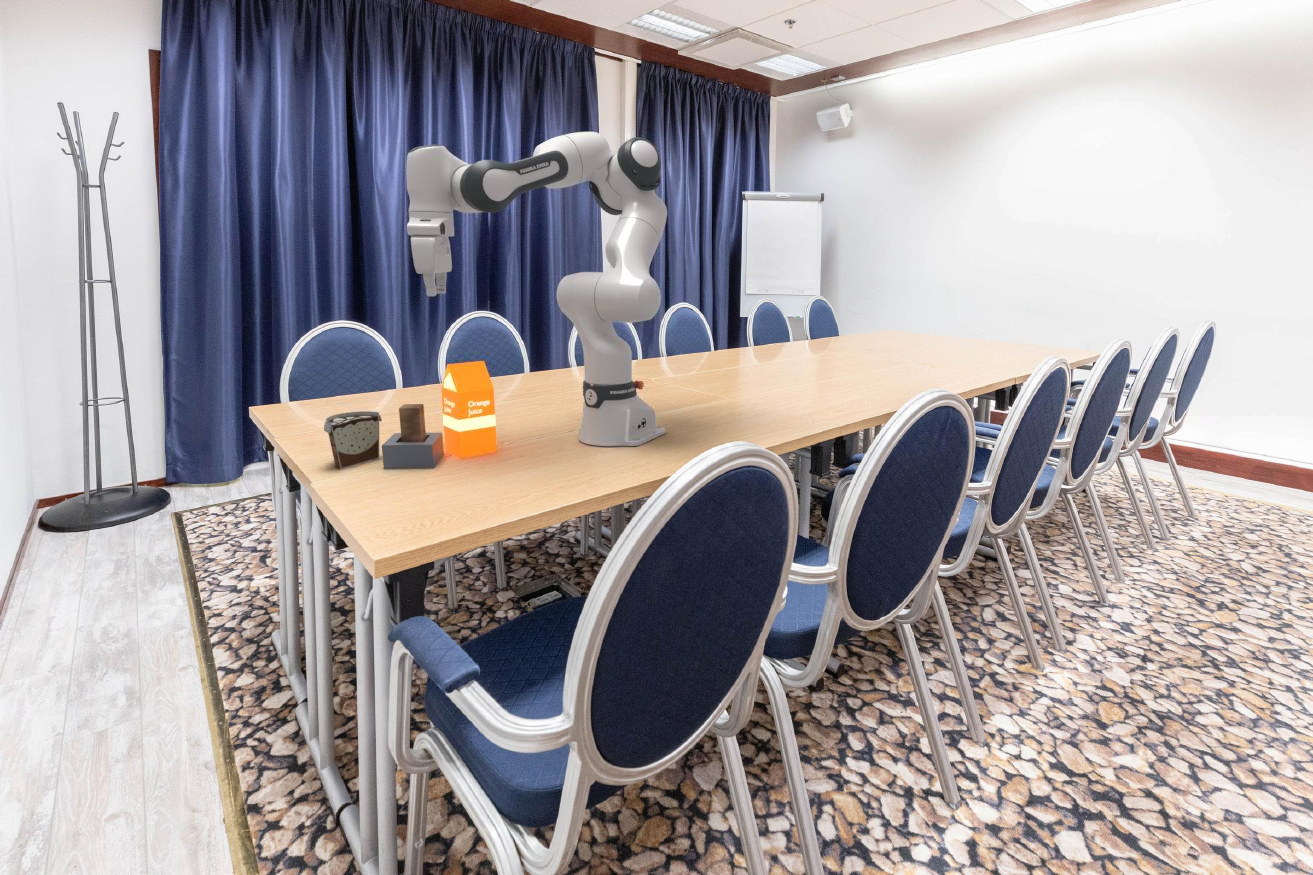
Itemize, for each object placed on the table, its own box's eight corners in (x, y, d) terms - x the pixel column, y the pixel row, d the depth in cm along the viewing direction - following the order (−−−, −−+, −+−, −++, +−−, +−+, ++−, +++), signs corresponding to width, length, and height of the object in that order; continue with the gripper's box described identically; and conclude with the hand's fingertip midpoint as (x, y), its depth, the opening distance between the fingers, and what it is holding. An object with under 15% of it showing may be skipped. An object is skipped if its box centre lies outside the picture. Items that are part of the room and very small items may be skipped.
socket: (396, 455, 151) (394, 433, 150) (443, 454, 152) (442, 432, 150) (383, 468, 141) (381, 445, 140) (433, 468, 142) (432, 444, 141)
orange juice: (445, 451, 154) (438, 362, 149) (481, 444, 160) (476, 358, 155) (460, 458, 149) (455, 366, 144) (497, 451, 154) (493, 362, 149)
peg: (403, 464, 144) (398, 408, 141) (408, 458, 148) (403, 404, 145) (423, 464, 145) (418, 408, 142) (427, 458, 149) (423, 404, 146)
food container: (366, 452, 153) (362, 408, 150) (385, 456, 150) (381, 411, 147) (315, 466, 142) (309, 419, 140) (334, 471, 139) (328, 423, 137)
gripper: (427, 229, 154) (432, 292, 158) (404, 225, 135) (409, 297, 138) (456, 229, 155) (460, 292, 158) (437, 225, 135) (442, 297, 139)
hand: (436, 295), depth 148 cm, fingers open, 8 cm apart
